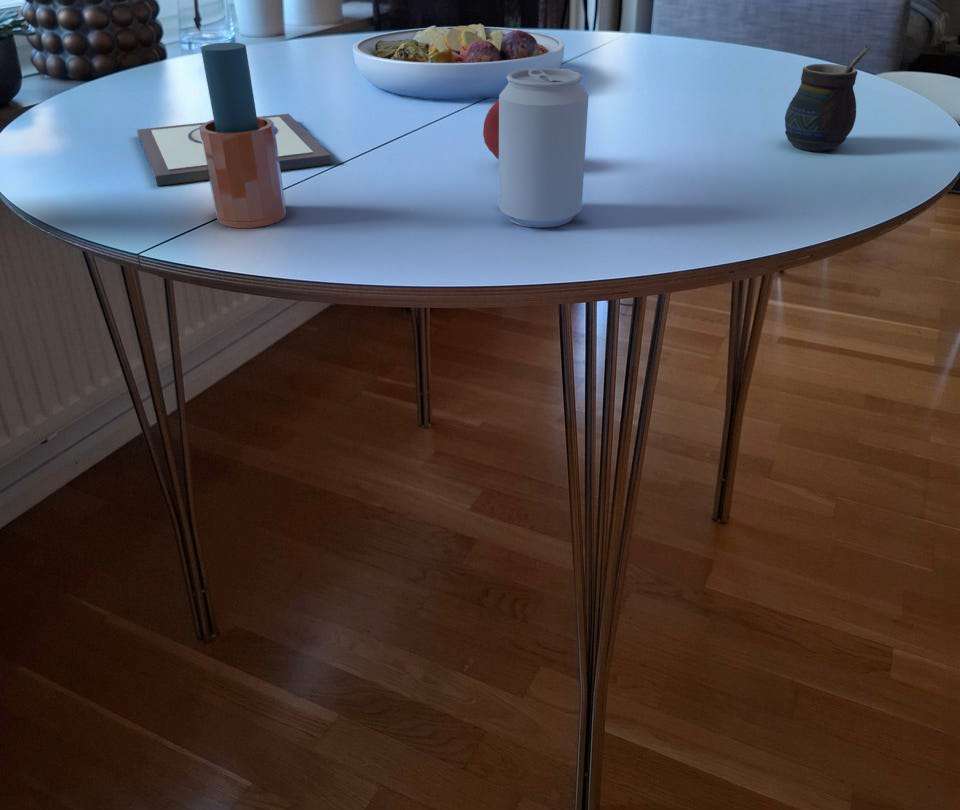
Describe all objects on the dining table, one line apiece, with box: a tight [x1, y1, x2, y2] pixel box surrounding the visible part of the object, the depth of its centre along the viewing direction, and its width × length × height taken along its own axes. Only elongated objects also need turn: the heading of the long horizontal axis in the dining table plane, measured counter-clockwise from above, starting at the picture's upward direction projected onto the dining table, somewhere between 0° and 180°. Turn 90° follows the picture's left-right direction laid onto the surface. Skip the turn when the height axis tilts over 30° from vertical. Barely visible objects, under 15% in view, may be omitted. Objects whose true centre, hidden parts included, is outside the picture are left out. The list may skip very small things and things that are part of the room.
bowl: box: [352, 23, 565, 100], centre depth 123 cm, size 30×30×8 cm
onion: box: [482, 99, 499, 161], centre depth 88 cm, size 6×6×8 cm
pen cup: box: [199, 116, 287, 229], centre depth 76 cm, size 6×6×8 cm
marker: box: [200, 42, 259, 133], centre depth 74 cm, size 4×4×14 cm
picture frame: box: [136, 113, 332, 187], centre depth 96 cm, size 18×20×1 cm
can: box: [498, 68, 590, 229], centre depth 74 cm, size 8×8×12 cm
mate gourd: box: [784, 45, 872, 152], centre depth 93 cm, size 7×8×10 cm
